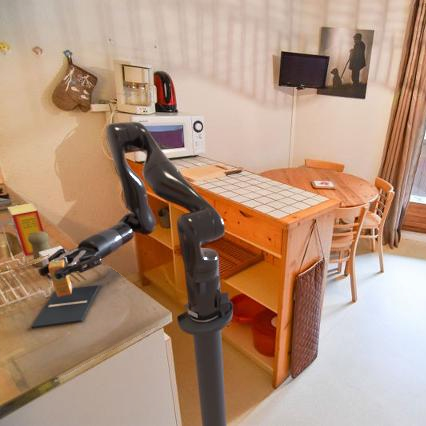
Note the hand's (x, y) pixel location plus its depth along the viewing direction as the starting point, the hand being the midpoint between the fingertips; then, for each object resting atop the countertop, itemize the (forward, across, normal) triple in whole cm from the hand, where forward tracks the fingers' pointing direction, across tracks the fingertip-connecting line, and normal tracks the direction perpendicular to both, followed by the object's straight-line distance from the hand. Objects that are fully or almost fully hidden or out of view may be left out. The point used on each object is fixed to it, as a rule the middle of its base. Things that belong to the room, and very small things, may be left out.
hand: (48, 274), depth 84 cm
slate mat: (-2, 0, +12) cm, 13 cm away
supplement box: (-3, 0, +8) cm, 9 cm away
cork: (-18, -26, +13) cm, 35 cm away
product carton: (-15, -18, +13) cm, 27 cm away
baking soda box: (-24, -38, +13) cm, 47 cm away
